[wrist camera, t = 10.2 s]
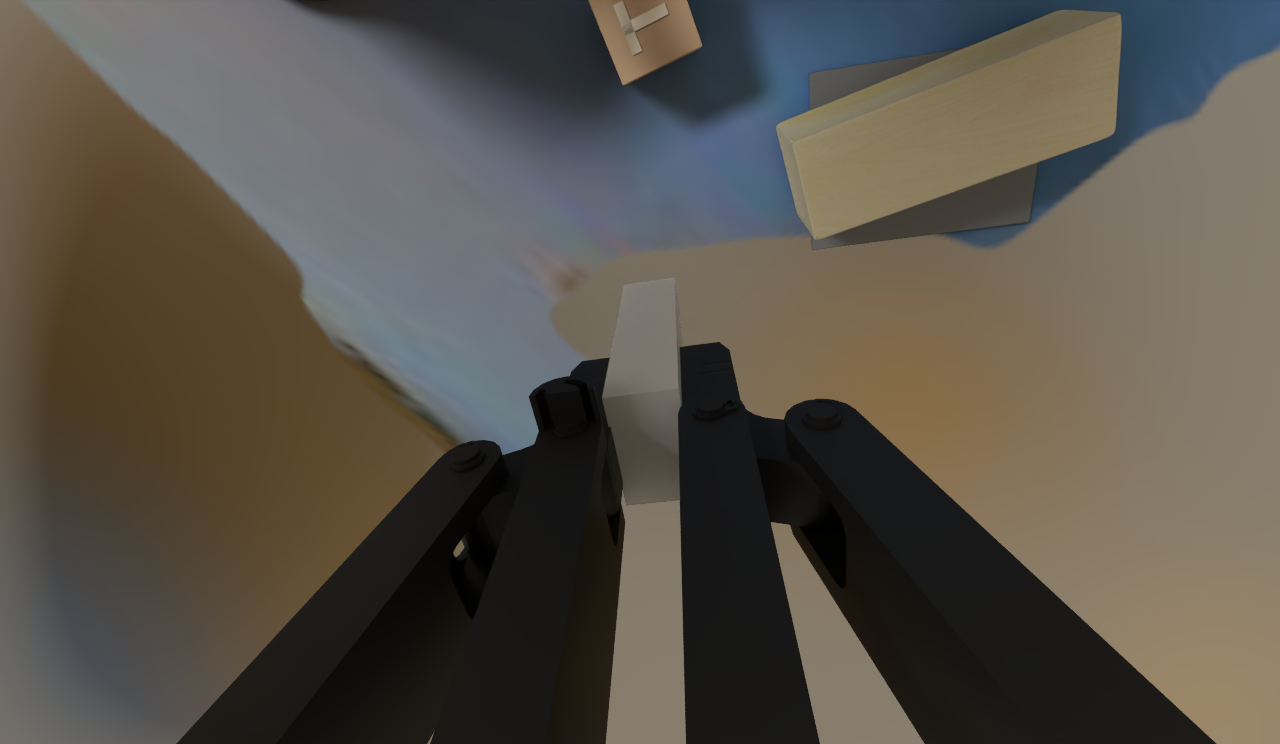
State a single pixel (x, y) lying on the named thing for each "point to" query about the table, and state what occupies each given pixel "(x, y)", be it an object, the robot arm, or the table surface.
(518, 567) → the robot arm
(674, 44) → the letter cube
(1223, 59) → the table surface
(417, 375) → the table surface
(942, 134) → the light wooden block
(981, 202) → the mat
